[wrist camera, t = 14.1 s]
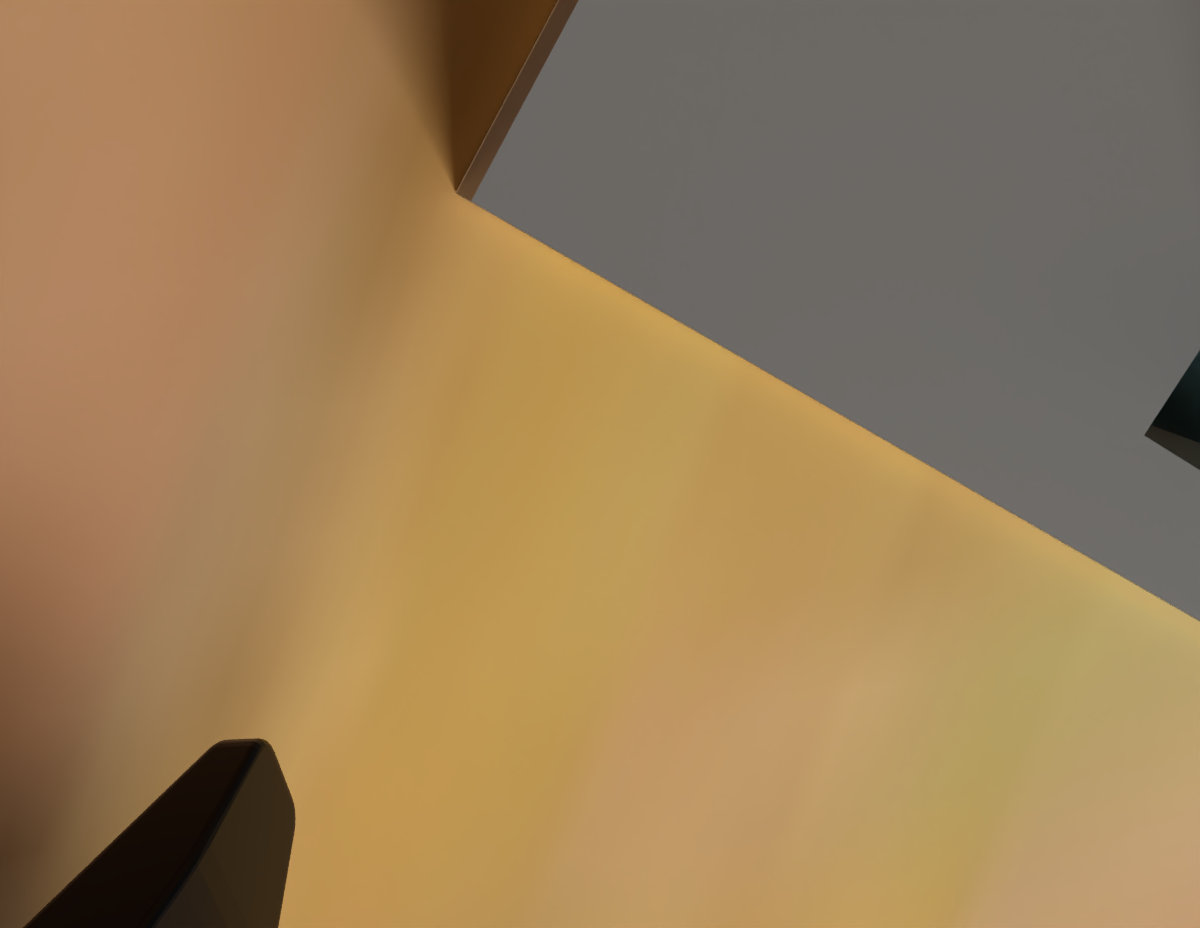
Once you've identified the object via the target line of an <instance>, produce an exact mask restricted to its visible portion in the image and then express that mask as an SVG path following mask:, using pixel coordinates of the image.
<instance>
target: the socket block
mask: <svg viewBox="0 0 1200 928" xmlns="http://www.w3.org/2000/svg"><path fill="white" fill-rule="evenodd" d="M455 193H456V194H458V195H460V196H462V197H463V198H465V199H467V200H468V201H470V202H472V203H474V204H475V205H477V206H479V207H481V208H482V209H484V210H486V211H488V212H489V213H491V214H493V215H495V216H496V217H498V218H500V219H502V220H503V221H505V222H507V223H508V224H510V225H512V226H514V227H515V228H517V229H519V230H521V231H522V232H524V233H526V234H528V235H529V236H531V237H533V238H535V239H536V240H538V241H540V242H541V243H543V244H545V245H547V246H548V247H550V248H552V249H554V250H555V251H557V252H559V253H561V254H562V255H564V256H566V257H568V258H569V259H571V260H573V261H574V262H576V263H578V264H580V265H581V266H583V267H585V268H587V269H588V270H590V271H592V272H594V273H595V274H597V275H599V276H601V277H602V278H604V279H606V280H608V281H609V282H611V283H613V284H614V285H616V286H618V287H620V288H621V289H623V290H625V291H627V292H628V293H630V294H632V295H634V296H635V297H637V298H639V299H641V300H642V301H644V302H646V303H647V304H649V305H651V306H653V307H654V308H656V309H658V310H660V311H661V312H663V313H665V314H667V315H668V316H670V317H672V318H674V319H675V320H677V321H679V322H680V323H682V324H684V325H686V326H687V327H689V328H691V329H693V330H694V331H696V332H698V333H700V334H701V335H703V336H705V337H707V338H708V339H710V340H712V341H713V342H715V343H717V344H719V345H720V346H722V347H724V348H726V349H727V350H729V351H731V352H733V353H734V354H736V355H738V356H740V357H741V358H743V359H745V360H746V361H748V362H750V363H752V364H753V365H755V366H757V367H759V368H760V369H762V370H764V371H766V372H767V373H769V374H771V375H773V376H774V377H776V378H778V379H780V380H781V381H783V382H785V383H786V384H788V385H790V386H792V387H793V388H795V389H797V390H799V391H800V392H802V393H804V394H806V395H807V396H809V397H811V398H813V399H814V400H816V401H818V402H819V403H821V404H823V405H825V406H826V407H828V408H830V409H832V410H833V411H835V412H837V413H839V414H840V415H842V416H844V417H846V418H847V419H849V420H851V421H852V422H854V423H856V424H858V425H859V426H861V427H863V428H865V429H866V430H868V431H870V432H872V433H873V434H875V435H877V436H879V437H880V438H882V439H884V440H886V441H887V442H889V443H891V444H892V445H894V446H896V447H898V448H899V449H901V450H903V451H905V452H906V453H908V454H910V455H912V456H913V457H915V458H917V459H919V460H920V461H922V462H924V463H925V464H927V465H929V466H931V467H932V468H934V469H936V470H938V471H939V472H941V473H943V474H945V475H946V476H948V477H950V478H952V479H953V480H955V481H957V482H958V483H960V484H962V485H964V486H965V487H967V488H969V489H971V490H972V491H974V492H976V493H978V494H979V495H981V496H983V497H985V498H986V499H988V500H990V501H991V502H993V503H995V504H997V505H998V506H1000V507H1002V508H1004V509H1005V510H1007V511H1009V512H1011V513H1012V514H1014V515H1016V516H1018V517H1019V518H1021V519H1023V520H1025V521H1026V522H1028V523H1030V524H1031V525H1033V526H1035V527H1037V528H1038V529H1040V530H1042V531H1044V532H1045V533H1047V534H1049V535H1051V536H1052V537H1054V538H1056V539H1058V540H1059V541H1061V542H1063V543H1064V544H1066V545H1068V546H1070V547H1071V548H1073V549H1075V550H1077V551H1078V552H1080V553H1082V554H1084V555H1085V556H1087V557H1089V558H1091V559H1092V560H1094V561H1096V562H1097V563H1099V564H1101V565H1103V566H1104V567H1106V568H1108V569H1110V570H1111V571H1113V572H1115V573H1117V574H1118V575H1120V576H1122V577H1124V578H1125V579H1127V580H1129V581H1130V582H1132V583H1134V584H1136V585H1137V586H1139V587H1141V588H1143V589H1144V590H1146V591H1148V592H1150V593H1151V594H1153V595H1155V596H1157V597H1158V598H1160V599H1162V600H1164V601H1165V602H1167V603H1169V604H1170V605H1172V606H1174V607H1176V608H1177V609H1179V610H1181V611H1183V612H1184V613H1186V614H1188V615H1190V616H1191V617H1193V618H1195V619H1197V620H1198V621H1200V443H1198V442H1196V441H1193V440H1190V439H1187V438H1184V437H1182V436H1179V435H1176V434H1173V433H1171V432H1168V431H1165V430H1162V429H1160V428H1157V427H1154V426H1151V424H1152V422H1153V421H1154V419H1155V418H1156V416H1157V415H1158V413H1159V412H1160V410H1161V409H1162V407H1163V405H1164V404H1165V402H1166V401H1167V399H1168V398H1169V396H1170V395H1171V393H1172V392H1173V390H1174V389H1175V387H1176V386H1177V384H1178V382H1179V381H1180V379H1181V378H1182V376H1183V375H1184V373H1185V372H1186V370H1187V369H1188V367H1189V366H1190V364H1191V363H1192V361H1193V359H1194V358H1195V356H1196V355H1197V353H1198V352H1199V350H1200V0H558V1H557V3H556V4H555V6H554V8H553V10H552V12H551V14H550V16H549V18H548V20H547V21H546V23H545V25H544V27H543V29H542V31H541V33H540V35H539V36H538V38H537V40H536V42H535V44H534V46H533V48H532V50H531V51H530V53H529V55H528V57H527V59H526V61H525V63H524V65H523V66H522V68H521V70H520V72H519V74H518V76H517V78H516V80H515V82H514V83H513V85H512V87H511V89H510V91H509V93H508V95H507V97H506V98H505V100H504V102H503V104H502V106H501V108H500V110H499V112H498V113H497V115H496V117H495V119H494V121H493V123H492V125H491V127H490V129H489V130H488V132H487V134H486V136H485V138H484V140H483V142H482V144H481V145H480V147H479V149H478V151H477V153H476V155H475V157H474V159H473V160H472V162H471V164H470V166H469V168H468V170H467V172H466V174H465V175H464V177H463V179H462V181H461V183H460V185H459V187H458V189H457V191H456V192H455Z"/></svg>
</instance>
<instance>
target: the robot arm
mask: <svg viewBox="0 0 1200 928" xmlns="http://www.w3.org/2000/svg"><path fill="white" fill-rule="evenodd" d="M294 831H295V808H294V803H293V799H292V796H291V794H290V791H289V789H288V786H287V783H286V781H285V778H284V776H283V773H282V770H281V768H280V765H279V763H278V760H277V757H276V755H275V752H274V750H273V748H272V746H271V745H270V744H269V743H268V742H267V741H266V740H264V739H260V738H257V739H233V740H223V741H220V742H218V743H216V744H215V745H213V746H212V747H211V748H209V749H208V750H207V751H206V752H205V753H204V754H203V755H202V756H201V757H200V758H199V759H198V760H197V761H196V762H195V763H194V764H193V765H192V766H191V767H190V768H189V769H188V770H187V771H185V772H184V773H183V774H182V775H181V776H180V777H179V778H178V779H177V780H176V781H175V782H174V783H173V784H172V785H171V786H170V787H169V788H168V789H167V790H166V791H165V792H164V793H163V794H162V795H161V796H159V797H158V798H157V799H156V800H155V801H154V802H153V803H152V804H151V805H150V806H149V807H148V808H147V809H146V810H145V811H144V812H143V813H142V814H141V815H140V816H139V817H138V818H137V819H136V820H134V821H133V822H132V823H131V824H130V825H129V826H128V827H127V828H126V829H125V830H124V831H123V832H122V833H121V834H120V835H119V836H118V837H117V838H116V839H115V840H114V841H113V842H112V843H111V844H110V845H108V846H107V847H106V848H105V849H104V850H103V851H102V852H101V853H100V854H99V855H98V856H97V857H96V858H95V859H94V860H93V861H92V862H91V863H90V864H89V865H88V866H87V867H86V868H85V869H84V870H82V871H81V872H80V873H79V874H78V875H77V876H76V877H75V878H74V879H73V880H72V881H71V882H70V883H69V884H68V885H67V886H66V887H65V888H64V889H63V890H62V891H61V892H60V893H59V894H58V895H56V896H55V897H54V898H53V899H52V900H51V901H50V902H49V903H48V904H47V905H46V906H45V907H44V908H43V909H42V910H41V911H40V912H39V913H38V914H37V915H36V916H35V917H34V918H33V919H32V920H30V921H29V922H28V923H27V924H26V925H25V926H24V927H23V928H278V926H279V920H280V914H281V908H282V902H283V896H284V890H285V884H286V879H287V873H288V867H289V861H290V855H291V849H292V843H293V837H294Z"/></svg>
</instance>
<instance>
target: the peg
mask: <svg viewBox="0 0 1200 928" xmlns="http://www.w3.org/2000/svg"><path fill="white" fill-rule="evenodd" d="M1151 426H1154V427H1157V428H1160V429H1162V430H1165V431H1168V432H1171V433H1173V434H1176V435H1179V436H1182V437H1184V438H1187V439H1190V440H1193V441H1196V442H1198V443H1200V350H1199V352H1198V353H1197V355H1196V356H1195V358H1194V359H1193V361H1192V363H1191V364H1190V366H1189V367H1188V369H1187V370H1186V372H1185V373H1184V375H1183V376H1182V378H1181V379H1180V381H1179V382H1178V384H1177V386H1176V387H1175V389H1174V390H1173V392H1172V393H1171V395H1170V396H1169V398H1168V399H1167V401H1166V402H1165V404H1164V405H1163V407H1162V409H1161V410H1160V412H1159V413H1158V415H1157V416H1156V418H1155V419H1154V421H1153V422H1152V424H1151Z"/></svg>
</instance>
